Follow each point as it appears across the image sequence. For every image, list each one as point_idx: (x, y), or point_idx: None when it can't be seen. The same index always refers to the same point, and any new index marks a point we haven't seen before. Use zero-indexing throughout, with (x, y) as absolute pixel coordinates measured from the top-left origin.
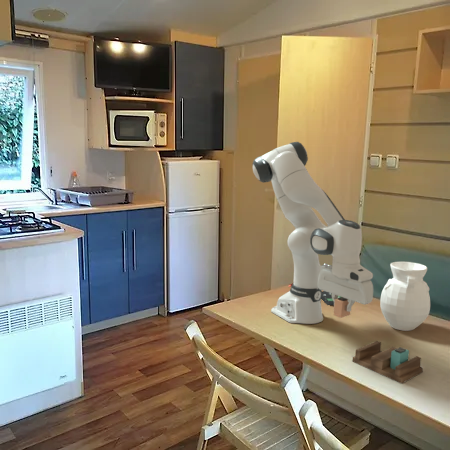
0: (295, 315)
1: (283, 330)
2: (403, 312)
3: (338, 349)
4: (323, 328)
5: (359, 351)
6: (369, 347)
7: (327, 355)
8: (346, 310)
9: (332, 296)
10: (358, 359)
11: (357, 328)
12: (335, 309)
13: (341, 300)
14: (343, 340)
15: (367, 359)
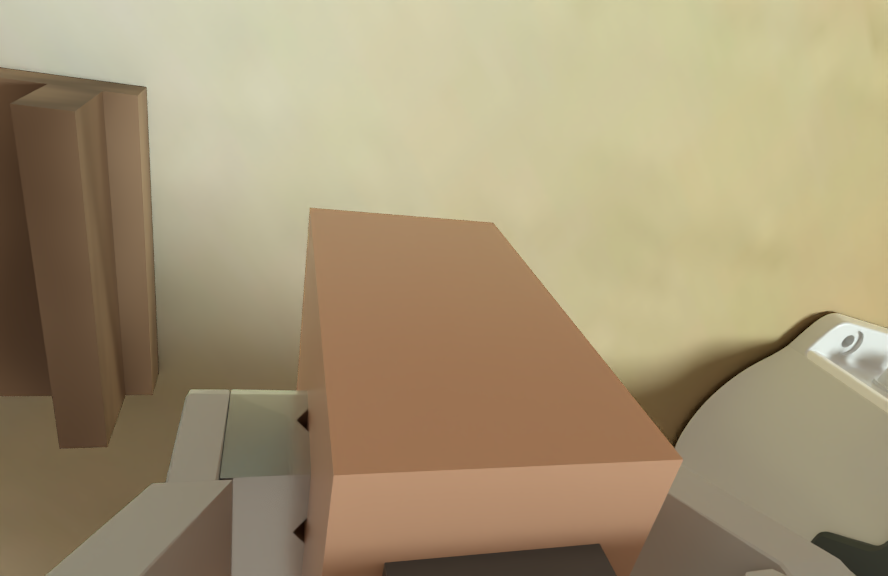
0: (843, 370)
1: (841, 183)
2: None
3: (380, 210)
4: None
5: (14, 104)
6: (38, 283)
7: (384, 29)
8: (240, 394)
9: (816, 565)
10: (54, 85)
11: None
12: (501, 278)
13: (450, 564)
14: None
15: (4, 160)
